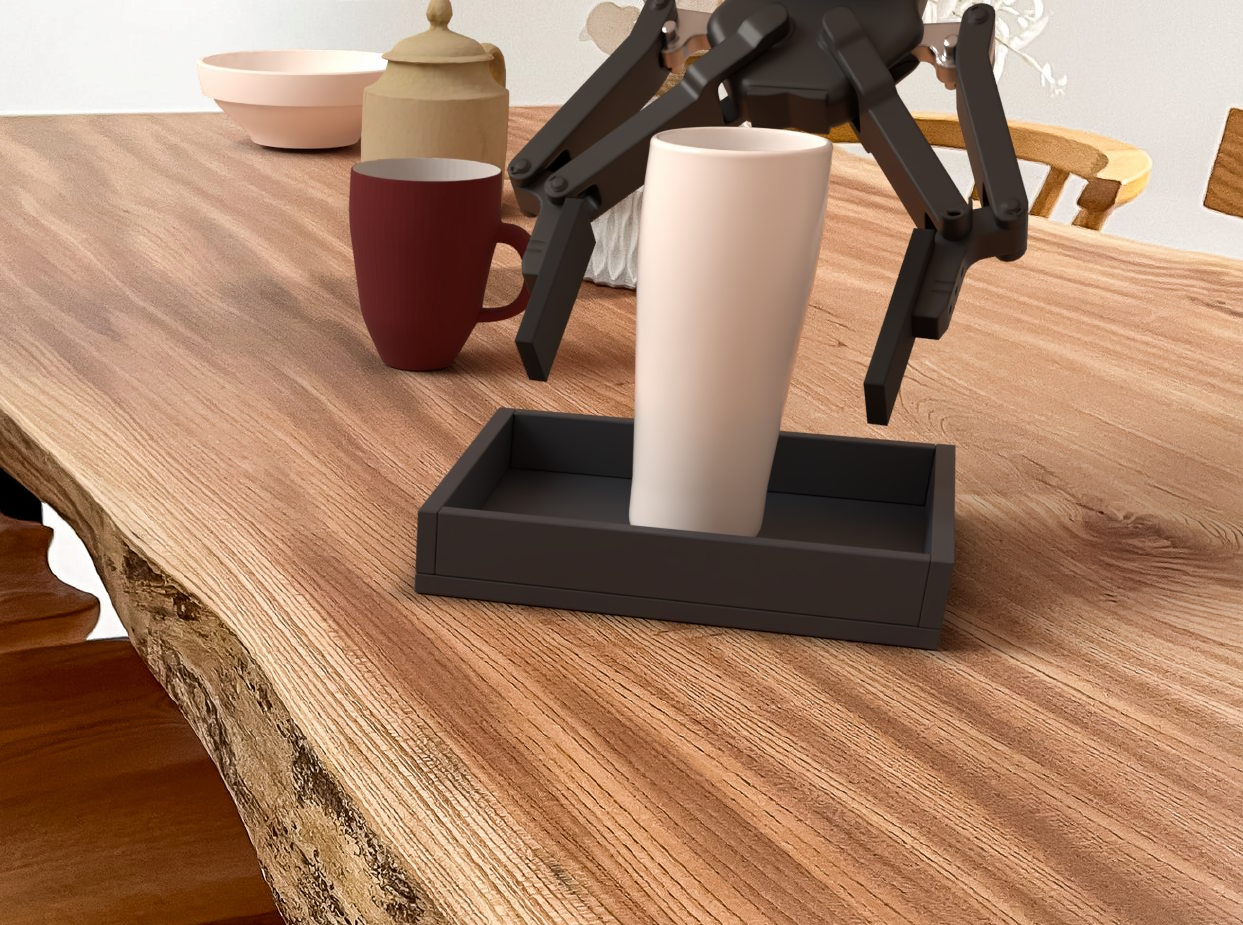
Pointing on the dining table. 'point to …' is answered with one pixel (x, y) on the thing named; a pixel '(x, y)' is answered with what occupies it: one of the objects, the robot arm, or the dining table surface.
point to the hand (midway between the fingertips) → (696, 383)
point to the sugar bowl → (438, 98)
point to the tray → (697, 534)
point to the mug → (427, 254)
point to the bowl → (293, 93)
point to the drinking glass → (720, 317)
